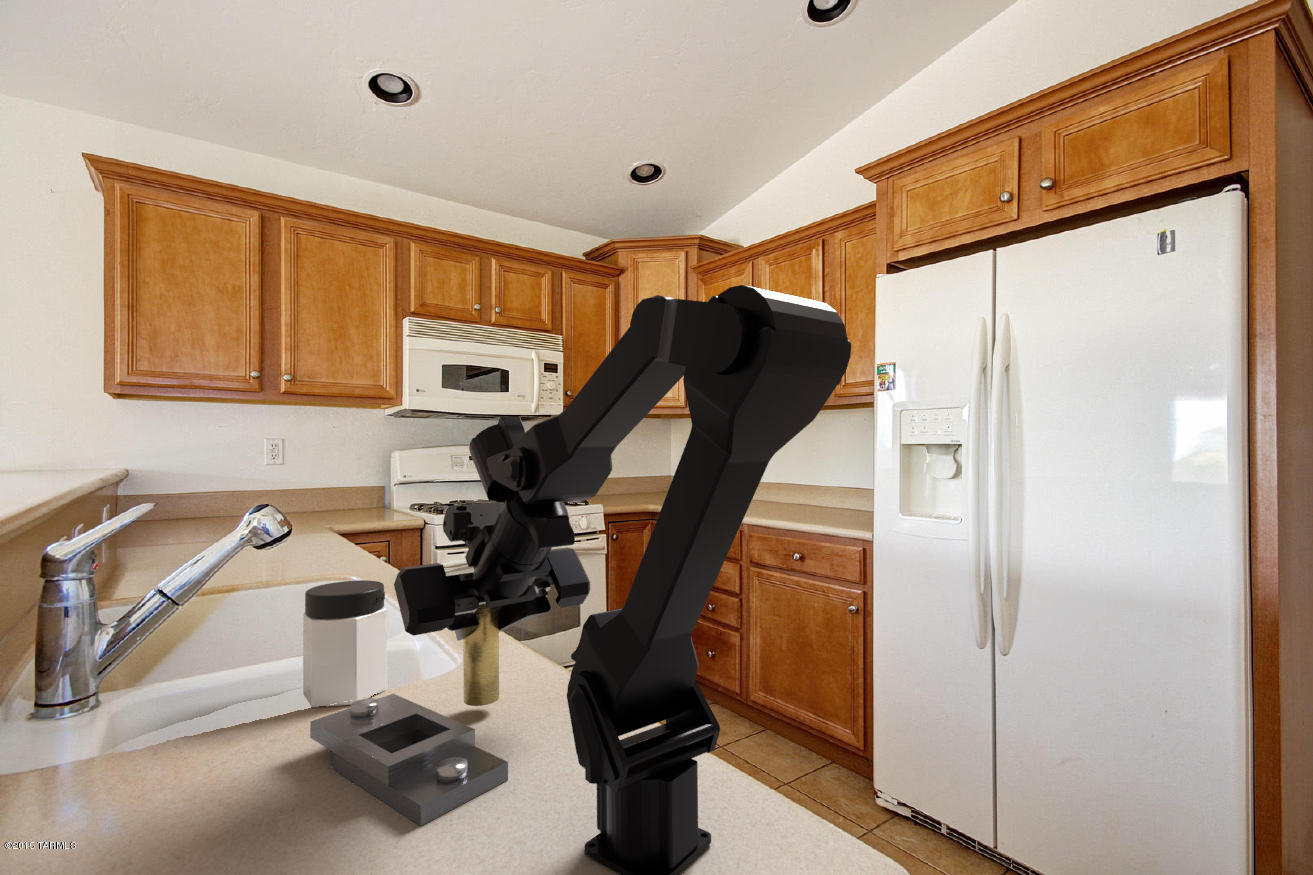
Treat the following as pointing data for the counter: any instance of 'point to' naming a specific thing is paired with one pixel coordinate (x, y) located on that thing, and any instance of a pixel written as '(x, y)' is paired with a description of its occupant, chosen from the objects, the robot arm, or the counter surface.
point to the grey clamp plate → (408, 756)
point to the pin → (482, 659)
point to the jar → (344, 642)
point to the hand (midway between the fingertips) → (476, 632)
